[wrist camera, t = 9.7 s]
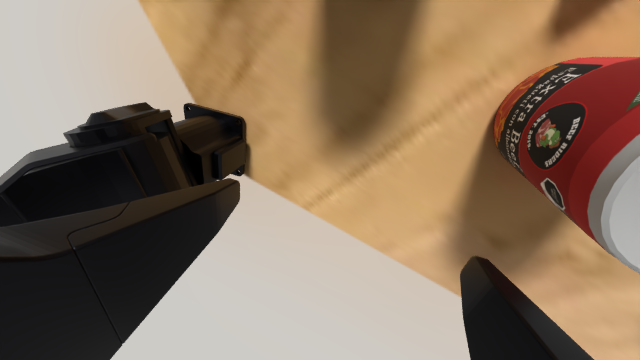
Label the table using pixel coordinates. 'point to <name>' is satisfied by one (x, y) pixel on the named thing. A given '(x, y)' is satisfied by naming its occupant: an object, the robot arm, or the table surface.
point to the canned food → (581, 145)
